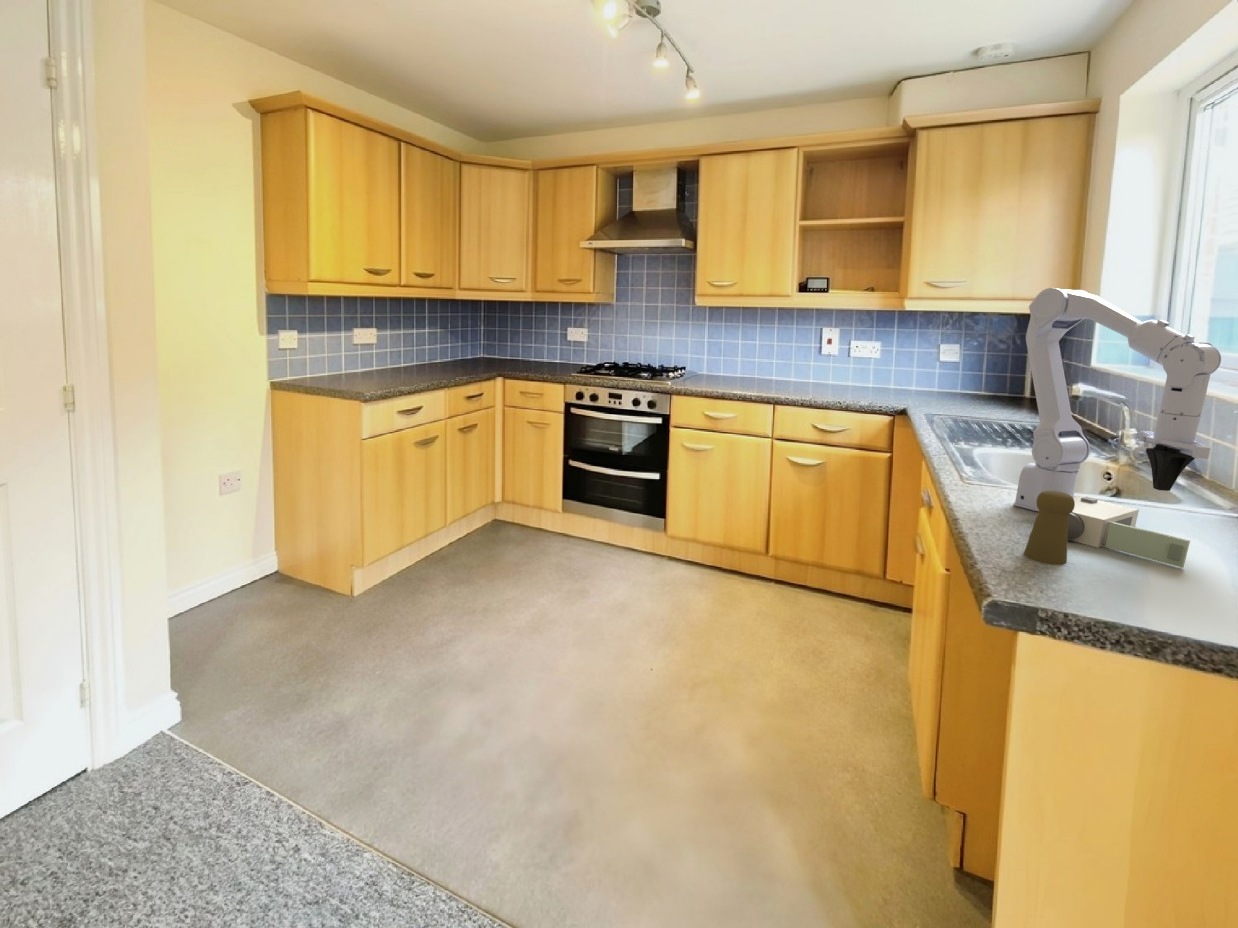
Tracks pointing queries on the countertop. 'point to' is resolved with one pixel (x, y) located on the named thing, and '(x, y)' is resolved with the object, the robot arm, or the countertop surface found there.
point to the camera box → (1096, 519)
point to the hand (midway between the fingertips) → (1161, 489)
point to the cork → (1050, 528)
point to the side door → (1146, 543)
